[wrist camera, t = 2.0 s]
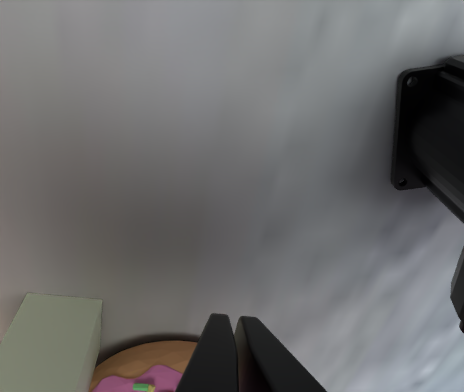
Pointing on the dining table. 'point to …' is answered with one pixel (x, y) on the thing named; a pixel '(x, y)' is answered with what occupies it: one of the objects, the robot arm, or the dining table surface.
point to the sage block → (51, 345)
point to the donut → (144, 368)
